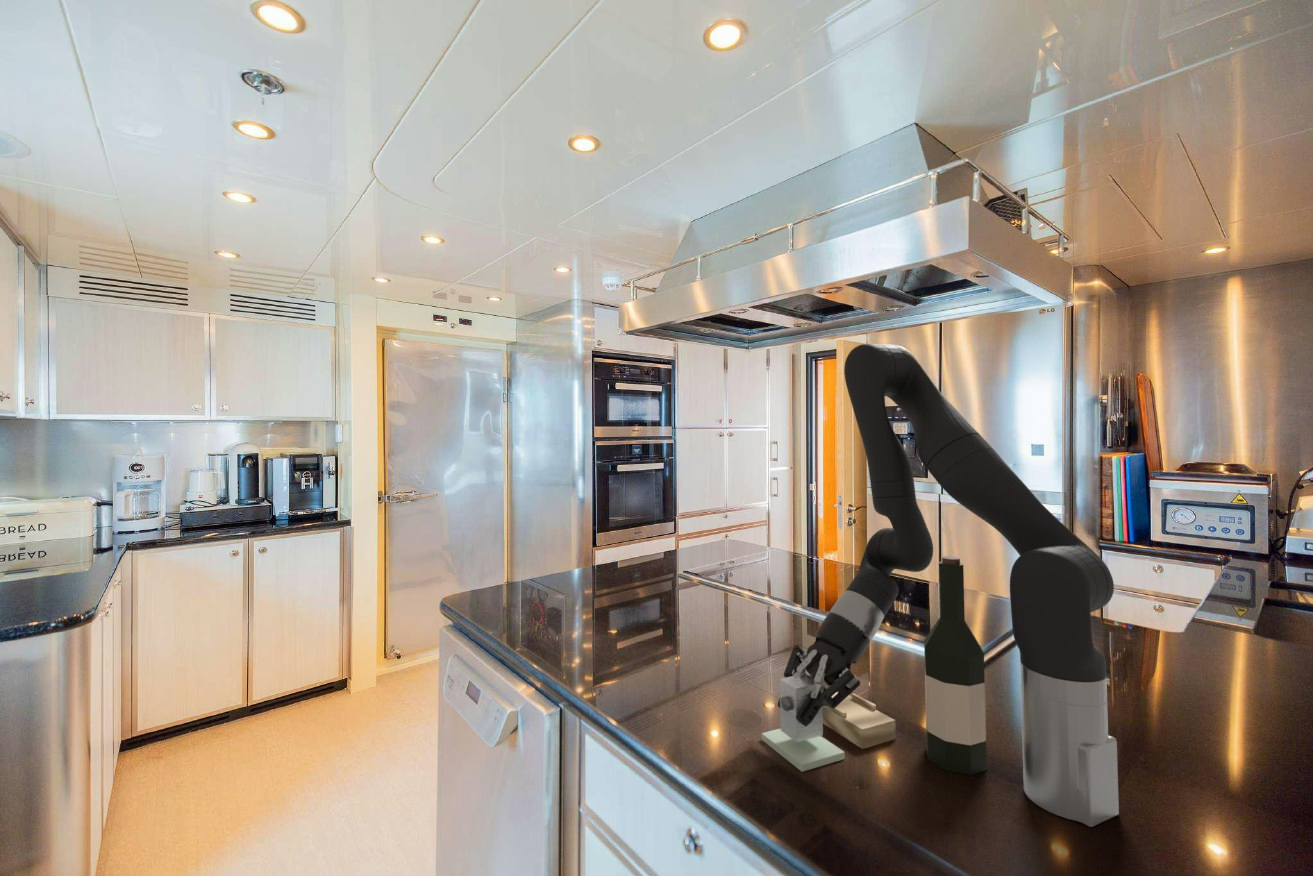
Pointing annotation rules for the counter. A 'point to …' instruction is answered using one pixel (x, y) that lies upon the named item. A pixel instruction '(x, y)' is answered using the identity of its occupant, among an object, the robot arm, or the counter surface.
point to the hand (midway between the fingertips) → (791, 715)
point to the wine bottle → (954, 682)
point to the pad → (803, 750)
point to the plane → (859, 722)
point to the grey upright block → (798, 708)
